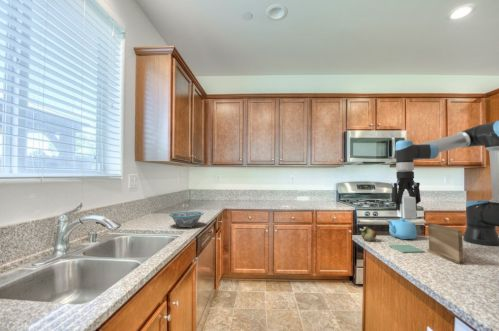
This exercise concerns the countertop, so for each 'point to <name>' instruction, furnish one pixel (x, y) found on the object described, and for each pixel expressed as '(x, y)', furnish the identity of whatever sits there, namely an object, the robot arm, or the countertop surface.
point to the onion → (368, 234)
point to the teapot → (402, 229)
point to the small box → (408, 207)
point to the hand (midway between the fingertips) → (406, 216)
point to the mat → (406, 248)
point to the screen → (446, 243)
